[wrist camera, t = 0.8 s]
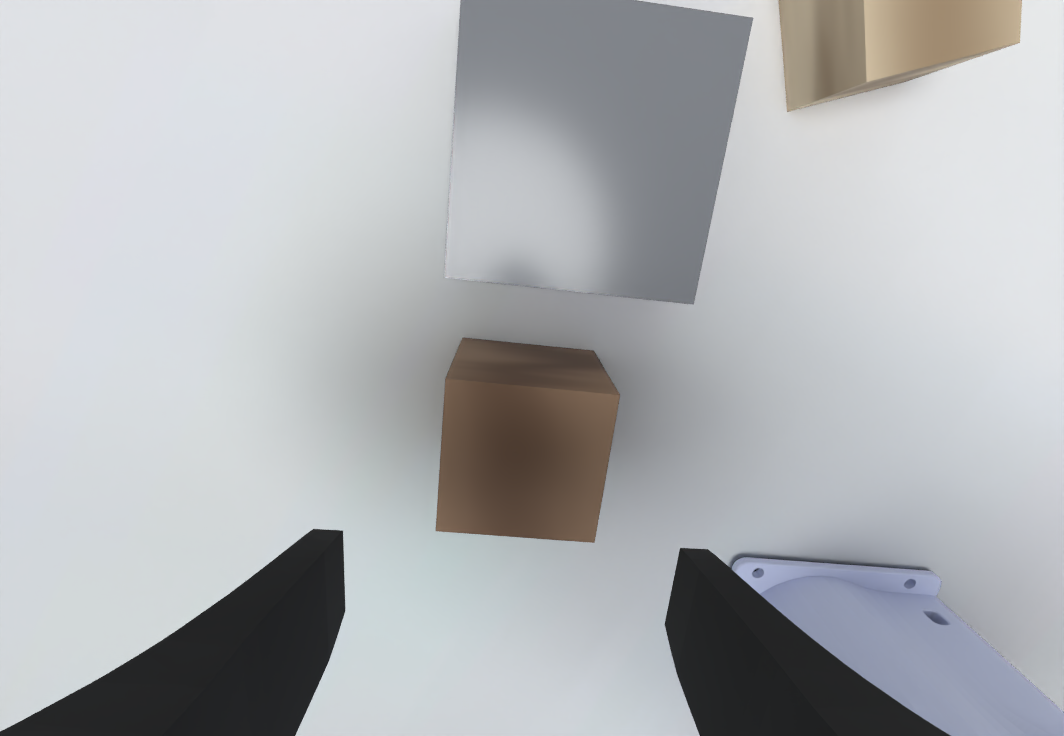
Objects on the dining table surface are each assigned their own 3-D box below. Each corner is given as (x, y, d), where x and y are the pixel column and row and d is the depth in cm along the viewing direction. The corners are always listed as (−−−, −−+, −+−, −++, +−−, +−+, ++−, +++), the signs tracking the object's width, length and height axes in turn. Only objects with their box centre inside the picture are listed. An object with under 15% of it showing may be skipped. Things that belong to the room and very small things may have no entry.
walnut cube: (593, 350, 19) (619, 395, 14) (575, 466, 20) (594, 542, 16) (462, 337, 19) (445, 378, 14) (454, 456, 20) (435, 530, 15)
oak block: (901, -58, 16) (1028, -148, 12) (903, 82, 17) (1019, 42, 13) (775, -25, 16) (860, -102, 12) (785, 112, 17) (866, 81, 13)
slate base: (717, 47, 16) (753, 17, 14) (670, 292, 18) (693, 304, 16) (470, 11, 16) (462, -26, 13) (453, 269, 18) (444, 277, 15)
